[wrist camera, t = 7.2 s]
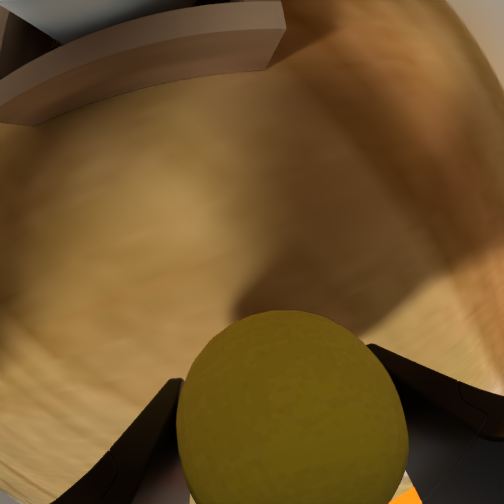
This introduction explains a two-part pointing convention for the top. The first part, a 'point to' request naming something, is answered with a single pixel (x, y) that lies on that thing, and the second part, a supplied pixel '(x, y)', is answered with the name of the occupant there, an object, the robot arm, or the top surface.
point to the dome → (86, 14)
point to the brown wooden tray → (130, 56)
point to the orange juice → (407, 498)
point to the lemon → (290, 416)
